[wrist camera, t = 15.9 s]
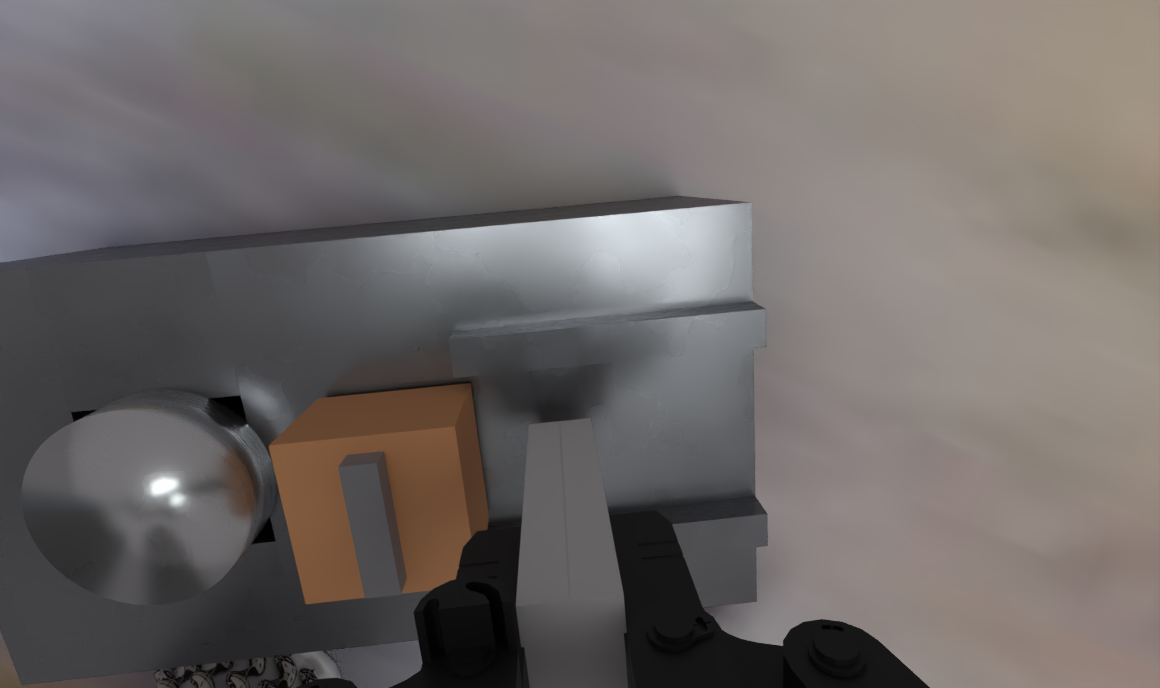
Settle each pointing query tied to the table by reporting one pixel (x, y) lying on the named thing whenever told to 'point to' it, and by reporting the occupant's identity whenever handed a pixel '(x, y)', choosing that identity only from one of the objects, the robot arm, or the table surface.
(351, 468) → the block
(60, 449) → the pin
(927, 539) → the table surface
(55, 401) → the hitch block
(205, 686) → the decorative candle
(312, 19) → the table surface
